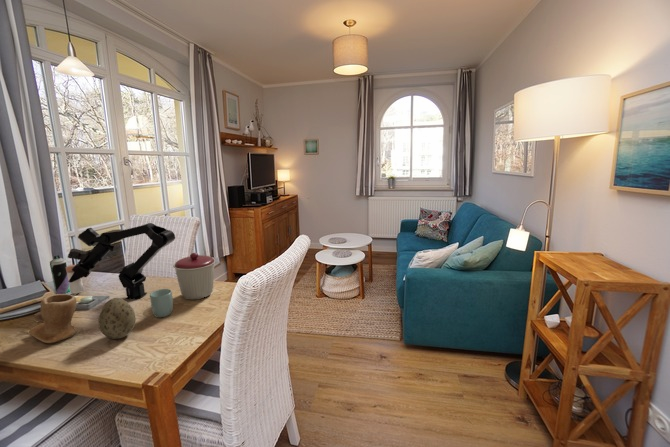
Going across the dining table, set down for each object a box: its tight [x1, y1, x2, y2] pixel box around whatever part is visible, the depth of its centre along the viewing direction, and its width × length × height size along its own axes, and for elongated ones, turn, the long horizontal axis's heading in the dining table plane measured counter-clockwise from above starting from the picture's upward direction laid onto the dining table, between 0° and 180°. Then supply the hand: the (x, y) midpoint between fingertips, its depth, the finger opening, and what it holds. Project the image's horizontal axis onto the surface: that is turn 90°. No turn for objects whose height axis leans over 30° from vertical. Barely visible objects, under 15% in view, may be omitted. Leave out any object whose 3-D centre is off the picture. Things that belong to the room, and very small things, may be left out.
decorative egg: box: [98, 297, 137, 340], centre depth 109 cm, size 11×11×15 cm
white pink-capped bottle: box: [66, 264, 84, 295], centre depth 136 cm, size 5×5×12 cm
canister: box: [172, 252, 216, 301], centre depth 143 cm, size 18×18×21 cm
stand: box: [33, 310, 44, 323], centre depth 124 cm, size 7×7×3 cm
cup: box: [149, 288, 174, 318], centre depth 126 cm, size 8×8×10 cm
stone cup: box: [28, 293, 77, 344], centre depth 110 cm, size 15×12×15 cm
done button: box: [80, 295, 93, 304], centre depth 133 cm, size 4×4×2 cm
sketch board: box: [74, 295, 110, 311], centre depth 136 cm, size 16×12×2 cm
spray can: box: [49, 254, 70, 294], centre depth 141 cm, size 6×6×20 cm
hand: (71, 280), depth 135 cm, fingers closed on white pink-capped bottle, 4 cm apart
